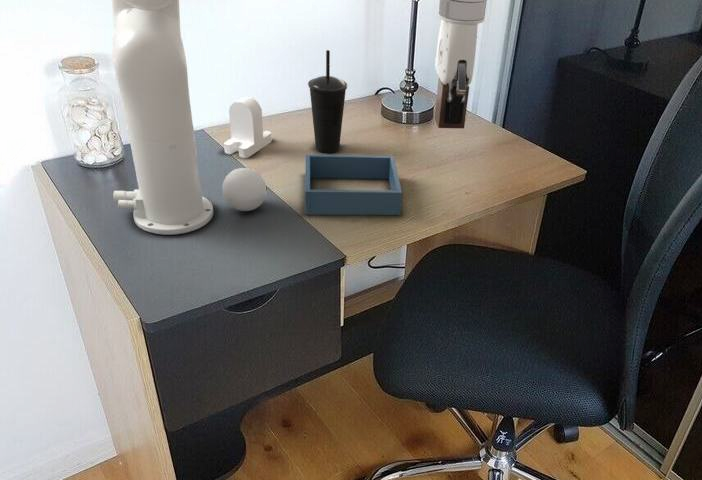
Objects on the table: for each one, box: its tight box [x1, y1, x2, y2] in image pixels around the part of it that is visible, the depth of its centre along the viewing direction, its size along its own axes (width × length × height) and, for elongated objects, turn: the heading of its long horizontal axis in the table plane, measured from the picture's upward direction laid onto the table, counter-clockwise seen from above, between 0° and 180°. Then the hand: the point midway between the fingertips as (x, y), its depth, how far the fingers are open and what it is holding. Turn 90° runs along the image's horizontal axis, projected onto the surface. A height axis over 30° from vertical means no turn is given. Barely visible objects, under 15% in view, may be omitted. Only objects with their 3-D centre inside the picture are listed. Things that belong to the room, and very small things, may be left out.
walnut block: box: [434, 77, 470, 129], centre depth 114 cm, size 5×5×8 cm
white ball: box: [221, 167, 268, 212], centre depth 112 cm, size 10×7×7 cm
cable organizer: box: [223, 96, 272, 159], centre depth 130 cm, size 5×10×10 cm, turn 159°
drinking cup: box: [307, 49, 348, 154], centre depth 130 cm, size 8×8×20 cm
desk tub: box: [304, 154, 403, 216], centre depth 119 cm, size 17×15×4 cm
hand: (449, 116), depth 115 cm, fingers closed on walnut block, 4 cm apart
